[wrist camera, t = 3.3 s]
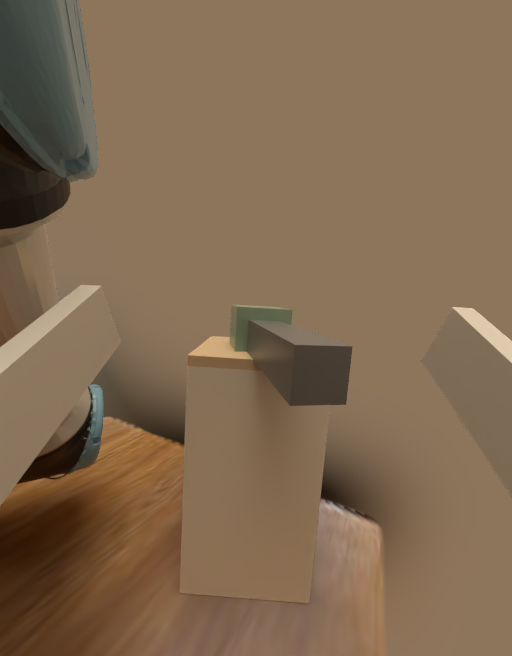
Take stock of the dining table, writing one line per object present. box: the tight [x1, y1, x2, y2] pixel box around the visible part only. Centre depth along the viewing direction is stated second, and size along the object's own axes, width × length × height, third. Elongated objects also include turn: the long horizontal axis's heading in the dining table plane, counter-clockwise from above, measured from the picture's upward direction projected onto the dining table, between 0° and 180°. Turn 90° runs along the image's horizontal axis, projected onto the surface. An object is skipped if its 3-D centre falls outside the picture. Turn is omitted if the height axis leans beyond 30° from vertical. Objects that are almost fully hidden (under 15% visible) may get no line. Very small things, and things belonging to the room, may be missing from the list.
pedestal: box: [180, 336, 330, 604], centre depth 37 cm, size 14×16×30 cm
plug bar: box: [229, 305, 352, 406], centre depth 27 cm, size 22×7×6 cm, turn 12°
